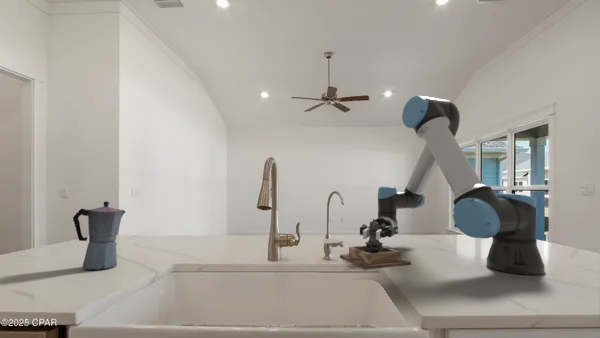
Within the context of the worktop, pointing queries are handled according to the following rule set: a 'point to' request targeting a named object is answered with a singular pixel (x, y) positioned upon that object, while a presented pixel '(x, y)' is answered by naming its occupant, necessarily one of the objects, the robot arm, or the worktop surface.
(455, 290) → the worktop surface
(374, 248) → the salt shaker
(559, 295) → the worktop surface
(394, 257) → the holder
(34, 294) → the worktop surface
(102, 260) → the moka pot
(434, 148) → the robot arm
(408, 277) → the worktop surface
